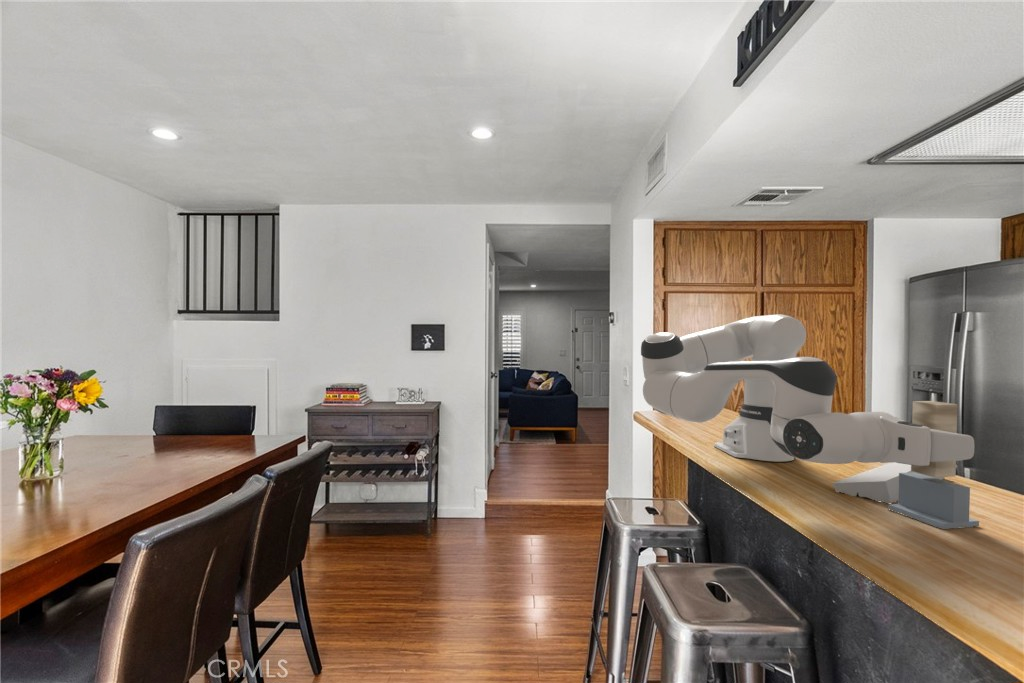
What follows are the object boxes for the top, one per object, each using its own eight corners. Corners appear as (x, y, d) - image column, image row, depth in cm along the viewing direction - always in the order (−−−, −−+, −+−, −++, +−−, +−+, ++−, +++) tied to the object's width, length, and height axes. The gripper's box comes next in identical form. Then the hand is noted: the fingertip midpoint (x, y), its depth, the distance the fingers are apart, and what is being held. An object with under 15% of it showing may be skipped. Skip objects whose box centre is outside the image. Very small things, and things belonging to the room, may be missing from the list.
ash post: (910, 470, 95) (912, 401, 95) (930, 469, 96) (932, 401, 96) (935, 477, 91) (937, 404, 91) (955, 476, 92) (957, 404, 92)
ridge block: (888, 509, 98) (889, 473, 98) (922, 507, 100) (923, 471, 100) (942, 529, 88) (943, 488, 88) (979, 526, 90) (980, 486, 90)
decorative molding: (838, 506, 109) (892, 506, 101) (831, 483, 110) (884, 481, 102) (896, 481, 129) (945, 479, 121) (891, 462, 130) (939, 459, 122)
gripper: (827, 442, 101) (885, 440, 104) (932, 469, 81) (999, 466, 84) (828, 410, 101) (886, 409, 104) (933, 429, 81) (1001, 427, 84)
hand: (937, 435), depth 94 cm, fingers closed on ash post, 4 cm apart
